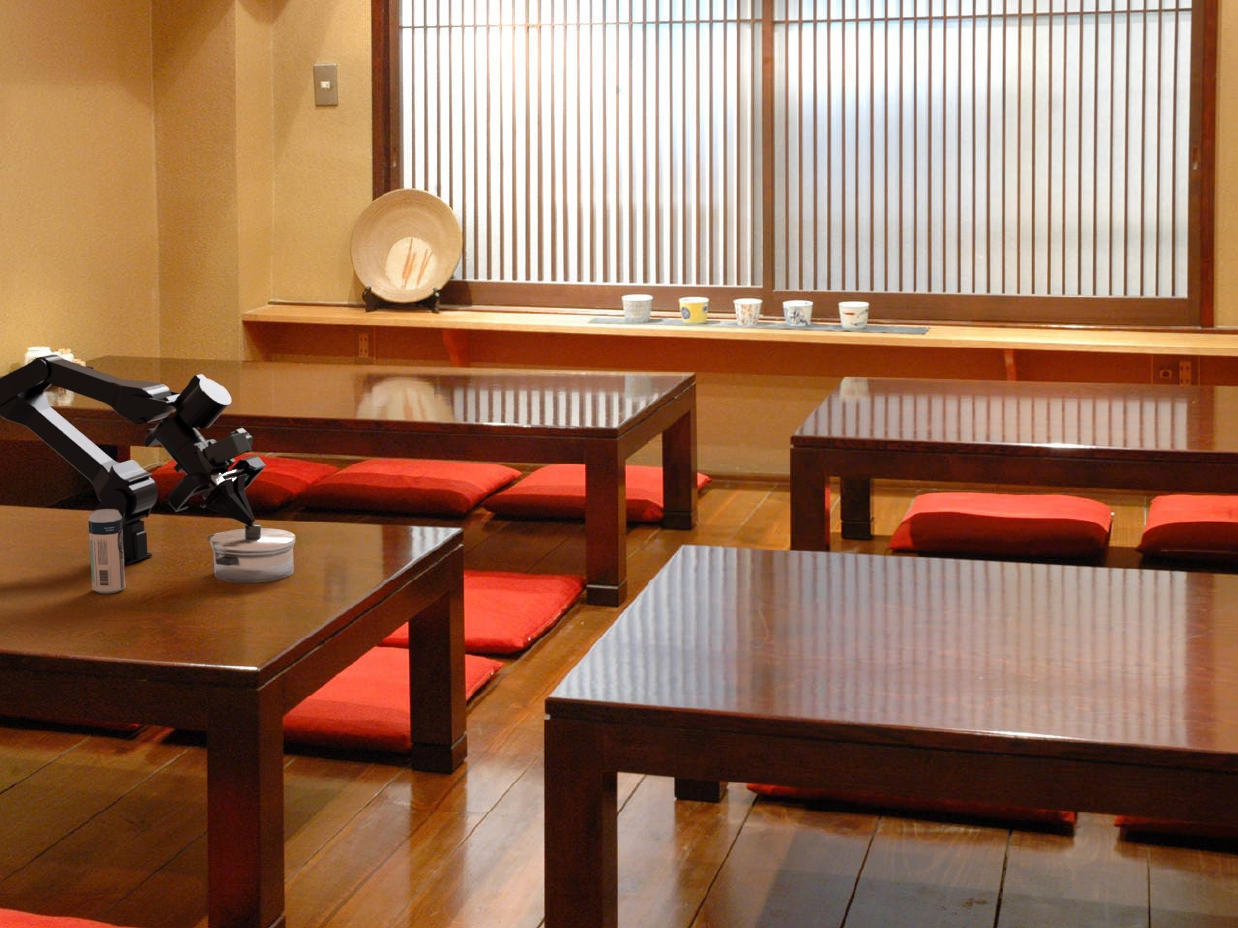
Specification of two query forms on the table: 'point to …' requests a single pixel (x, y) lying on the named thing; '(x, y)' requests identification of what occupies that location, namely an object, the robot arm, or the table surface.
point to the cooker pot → (253, 565)
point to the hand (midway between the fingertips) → (252, 523)
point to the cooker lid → (252, 539)
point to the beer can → (106, 551)
